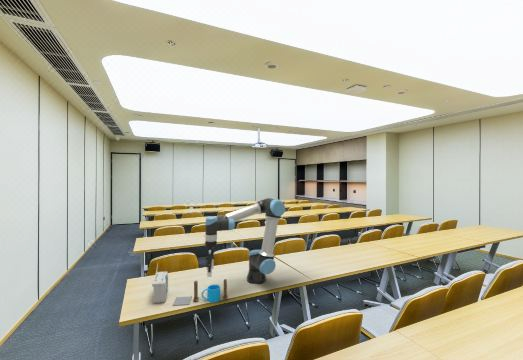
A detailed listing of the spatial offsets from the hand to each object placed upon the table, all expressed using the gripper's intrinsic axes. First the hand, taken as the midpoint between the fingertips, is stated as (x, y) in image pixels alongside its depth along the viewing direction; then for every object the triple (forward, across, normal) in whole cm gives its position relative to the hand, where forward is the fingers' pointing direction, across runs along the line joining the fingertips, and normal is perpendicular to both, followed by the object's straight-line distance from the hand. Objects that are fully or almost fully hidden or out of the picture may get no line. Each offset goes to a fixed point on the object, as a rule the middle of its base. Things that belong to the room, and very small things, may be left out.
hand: (210, 272), depth 163 cm
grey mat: (+18, +1, -17) cm, 25 cm away
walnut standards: (+18, 0, +1) cm, 18 cm away
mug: (+18, 0, +1) cm, 18 cm away
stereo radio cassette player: (+18, -8, -34) cm, 39 cm away
